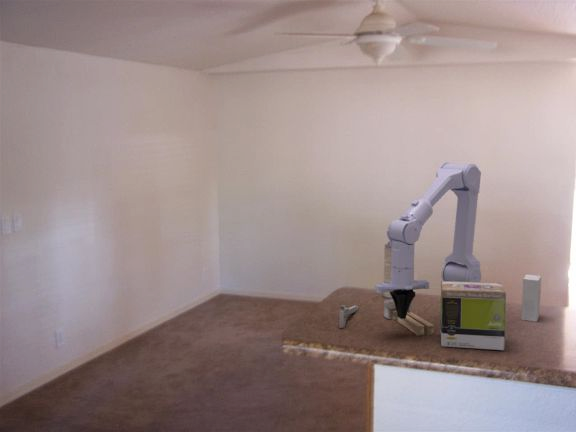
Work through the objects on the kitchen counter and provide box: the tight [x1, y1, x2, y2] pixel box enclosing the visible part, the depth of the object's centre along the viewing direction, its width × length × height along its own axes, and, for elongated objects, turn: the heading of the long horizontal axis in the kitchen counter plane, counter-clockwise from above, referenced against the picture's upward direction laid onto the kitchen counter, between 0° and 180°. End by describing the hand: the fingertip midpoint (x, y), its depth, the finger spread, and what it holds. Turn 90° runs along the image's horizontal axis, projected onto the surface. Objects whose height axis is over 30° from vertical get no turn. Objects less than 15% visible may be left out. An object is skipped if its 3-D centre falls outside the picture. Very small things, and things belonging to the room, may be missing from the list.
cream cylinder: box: [382, 240, 392, 300], centre depth 191 cm, size 7×7×20 cm
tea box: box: [439, 280, 507, 351], centre depth 150 cm, size 15×10×15 cm
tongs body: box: [390, 309, 435, 336], centre depth 165 cm, size 4×18×2 cm, turn 17°
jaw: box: [395, 312, 425, 336], centre depth 163 cm, size 2×14×2 cm, turn 15°
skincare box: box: [520, 274, 542, 323], centre depth 170 cm, size 6×4×12 cm
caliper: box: [338, 305, 359, 329], centre depth 171 cm, size 20×1×6 cm, turn 162°
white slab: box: [383, 299, 413, 320], centre depth 172 cm, size 7×3×5 cm, turn 107°
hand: (401, 317), depth 157 cm, fingers closed
